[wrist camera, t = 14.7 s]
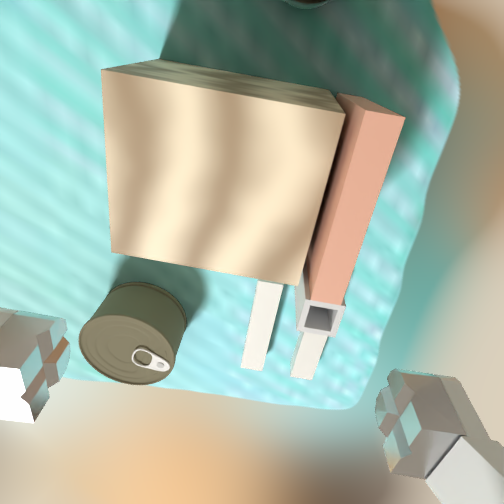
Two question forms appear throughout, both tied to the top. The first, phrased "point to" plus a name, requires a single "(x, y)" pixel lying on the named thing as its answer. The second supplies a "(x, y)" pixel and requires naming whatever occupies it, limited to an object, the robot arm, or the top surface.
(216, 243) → the cabinet
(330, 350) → the top surface
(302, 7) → the supplement bottle
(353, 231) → the door
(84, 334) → the can
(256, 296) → the door stand
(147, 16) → the top surface
